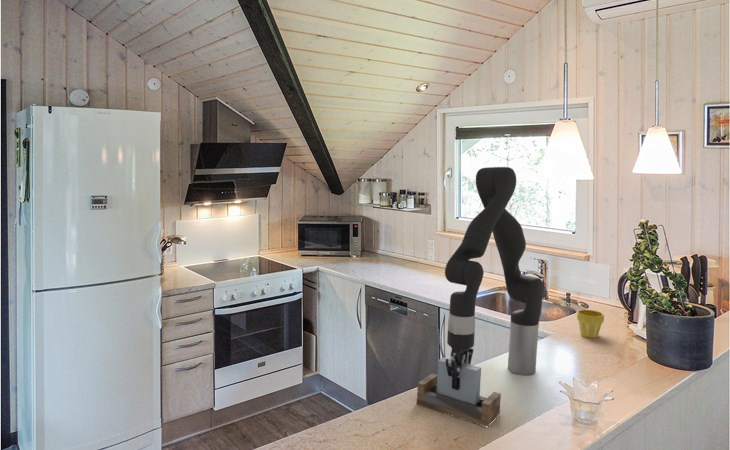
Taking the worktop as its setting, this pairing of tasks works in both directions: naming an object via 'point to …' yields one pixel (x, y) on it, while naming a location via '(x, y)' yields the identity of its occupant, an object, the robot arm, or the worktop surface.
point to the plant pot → (590, 322)
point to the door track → (486, 404)
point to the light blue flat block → (467, 383)
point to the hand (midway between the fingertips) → (458, 386)
